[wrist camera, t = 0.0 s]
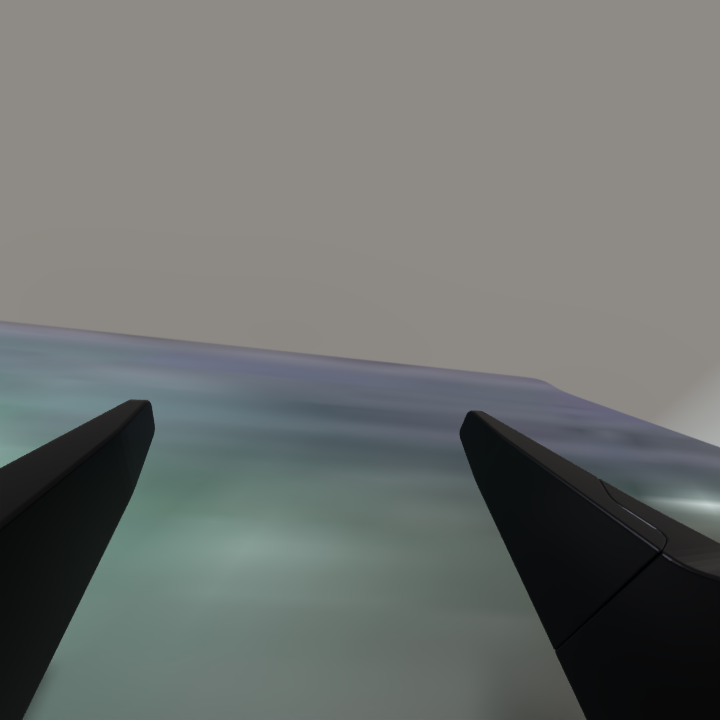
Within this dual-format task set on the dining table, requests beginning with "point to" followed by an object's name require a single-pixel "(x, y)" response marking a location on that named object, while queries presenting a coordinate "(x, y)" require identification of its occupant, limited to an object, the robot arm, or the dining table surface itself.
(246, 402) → the dining table surface
